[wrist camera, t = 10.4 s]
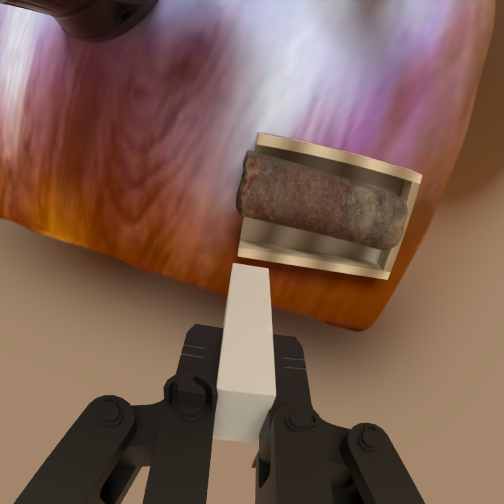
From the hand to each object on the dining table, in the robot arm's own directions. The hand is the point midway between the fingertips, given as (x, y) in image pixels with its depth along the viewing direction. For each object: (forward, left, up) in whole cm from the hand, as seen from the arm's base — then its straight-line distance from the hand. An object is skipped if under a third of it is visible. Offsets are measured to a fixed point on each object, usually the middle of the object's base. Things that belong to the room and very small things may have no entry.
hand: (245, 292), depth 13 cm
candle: (-2, 0, -23) cm, 23 cm away
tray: (+10, -2, -27) cm, 29 cm away
